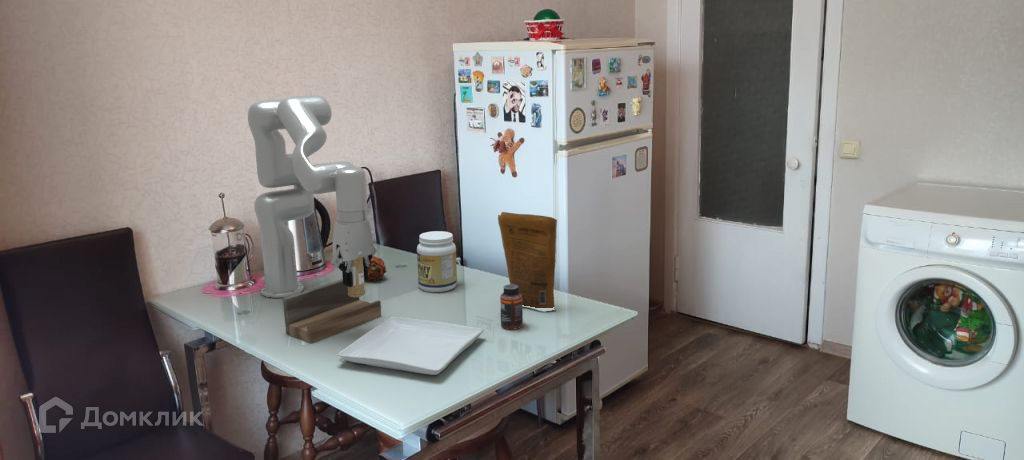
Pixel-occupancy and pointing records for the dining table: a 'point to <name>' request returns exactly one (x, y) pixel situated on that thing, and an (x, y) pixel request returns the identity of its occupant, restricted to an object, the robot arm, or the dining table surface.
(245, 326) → the dining table surface
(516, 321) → the supplement bottle
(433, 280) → the supplement tub
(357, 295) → the sprinkles bottle
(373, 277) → the dragon fruit
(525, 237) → the pancake mix bag
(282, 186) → the robot arm
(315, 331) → the spice rack
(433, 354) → the square plate
